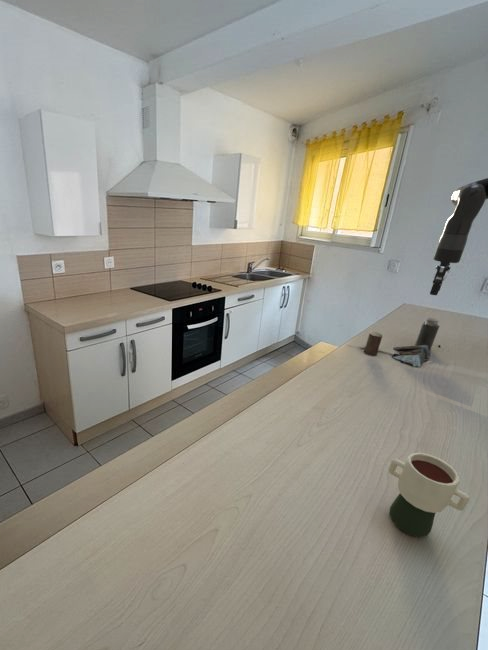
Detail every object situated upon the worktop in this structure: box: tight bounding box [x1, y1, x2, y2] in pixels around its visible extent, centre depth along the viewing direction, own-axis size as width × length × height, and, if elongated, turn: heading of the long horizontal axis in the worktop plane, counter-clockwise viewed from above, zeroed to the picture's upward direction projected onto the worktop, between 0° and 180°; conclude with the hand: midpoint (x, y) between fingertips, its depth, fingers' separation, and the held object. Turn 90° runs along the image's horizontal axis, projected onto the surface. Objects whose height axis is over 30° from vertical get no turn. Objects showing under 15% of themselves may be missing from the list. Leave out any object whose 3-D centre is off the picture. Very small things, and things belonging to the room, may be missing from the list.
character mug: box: [387, 452, 470, 538], centre depth 55 cm, size 11×7×13 cm, turn 44°
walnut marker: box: [363, 331, 383, 357], centre depth 123 cm, size 4×4×8 cm
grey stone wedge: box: [391, 345, 431, 368], centre depth 118 cm, size 10×7×12 cm
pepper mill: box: [414, 317, 440, 352], centre depth 124 cm, size 5×5×14 cm
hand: (434, 292), depth 118 cm, fingers open, 8 cm apart
